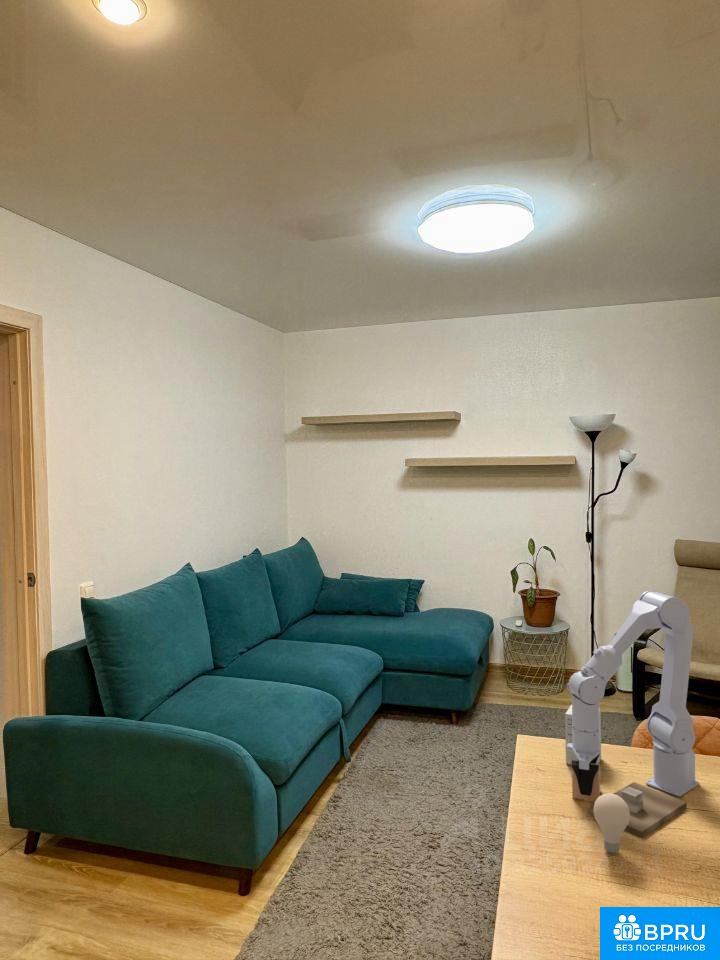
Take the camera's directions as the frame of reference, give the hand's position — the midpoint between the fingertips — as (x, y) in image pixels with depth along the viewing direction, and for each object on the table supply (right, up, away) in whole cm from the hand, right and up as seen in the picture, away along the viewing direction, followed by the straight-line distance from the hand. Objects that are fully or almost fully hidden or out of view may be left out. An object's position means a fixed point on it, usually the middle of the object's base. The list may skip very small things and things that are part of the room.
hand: (586, 788), depth 150 cm
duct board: (+8, -1, -7) cm, 11 cm away
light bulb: (-3, -2, -22) cm, 23 cm away
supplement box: (+5, -1, +17) cm, 17 cm away
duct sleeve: (0, -1, 0) cm, 1 cm away
